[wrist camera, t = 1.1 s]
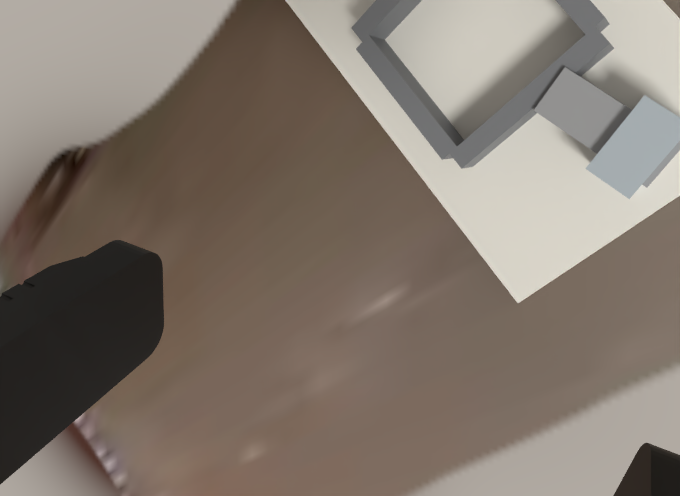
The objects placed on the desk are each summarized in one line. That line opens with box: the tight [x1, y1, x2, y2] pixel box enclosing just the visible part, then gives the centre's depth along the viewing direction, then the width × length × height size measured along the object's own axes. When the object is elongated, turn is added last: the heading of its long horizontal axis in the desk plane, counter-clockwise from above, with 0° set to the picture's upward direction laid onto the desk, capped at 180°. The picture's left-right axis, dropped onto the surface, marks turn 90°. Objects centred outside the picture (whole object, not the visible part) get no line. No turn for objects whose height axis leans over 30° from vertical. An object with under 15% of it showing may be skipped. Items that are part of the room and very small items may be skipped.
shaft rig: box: [285, 0, 680, 303], centre depth 24 cm, size 19×11×3 cm, turn 40°
